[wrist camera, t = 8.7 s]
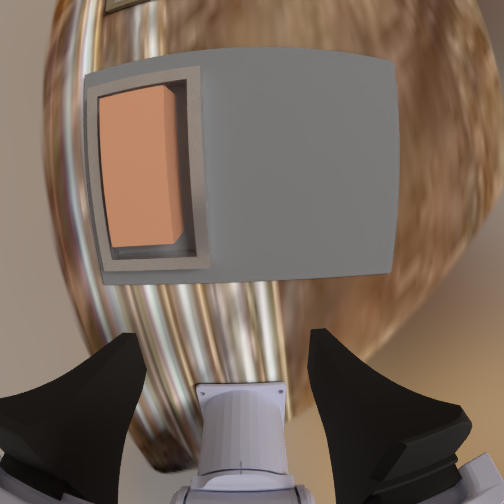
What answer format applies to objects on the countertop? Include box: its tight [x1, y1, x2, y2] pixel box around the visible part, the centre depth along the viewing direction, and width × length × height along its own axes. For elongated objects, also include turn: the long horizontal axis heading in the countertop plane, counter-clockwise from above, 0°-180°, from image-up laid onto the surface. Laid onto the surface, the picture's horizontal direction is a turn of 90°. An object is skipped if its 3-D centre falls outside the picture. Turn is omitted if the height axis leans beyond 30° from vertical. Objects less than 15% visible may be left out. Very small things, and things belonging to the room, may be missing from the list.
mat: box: [84, 47, 400, 285], centre depth 18 cm, size 16×22×1 cm
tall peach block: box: [99, 85, 184, 247], centre depth 16 cm, size 4×9×3 cm, turn 2°
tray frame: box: [87, 66, 213, 271], centre depth 17 cm, size 13×8×2 cm, turn 2°
